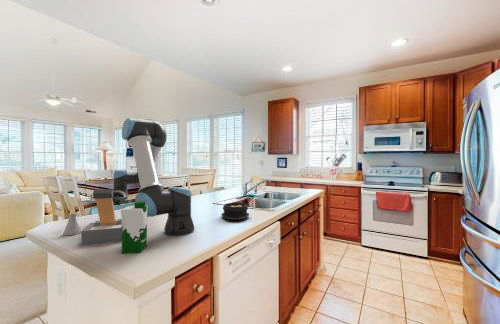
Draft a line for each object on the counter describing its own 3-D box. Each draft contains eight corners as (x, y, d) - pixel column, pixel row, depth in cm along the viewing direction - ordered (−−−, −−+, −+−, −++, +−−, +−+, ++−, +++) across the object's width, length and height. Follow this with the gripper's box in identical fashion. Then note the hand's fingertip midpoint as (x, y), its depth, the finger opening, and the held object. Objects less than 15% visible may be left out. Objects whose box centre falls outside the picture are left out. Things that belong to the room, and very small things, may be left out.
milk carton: (141, 254, 90) (141, 204, 90) (117, 254, 90) (118, 204, 90) (149, 245, 99) (149, 200, 99) (127, 246, 98) (128, 200, 98)
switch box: (91, 234, 113) (91, 218, 113) (131, 231, 119) (131, 215, 119) (81, 244, 100) (81, 226, 100) (127, 239, 106) (127, 222, 106)
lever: (100, 222, 109) (94, 189, 99) (117, 220, 111) (112, 189, 101) (99, 226, 107) (92, 193, 97) (116, 224, 109) (111, 192, 99)
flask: (71, 236, 110) (71, 216, 110) (59, 235, 112) (59, 215, 112) (84, 231, 117) (84, 212, 117) (73, 231, 119) (73, 212, 119)
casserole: (250, 222, 138) (250, 208, 138) (220, 222, 137) (220, 208, 137) (248, 212, 163) (248, 201, 163) (222, 212, 162) (222, 201, 162)
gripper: (129, 203, 135) (123, 212, 113) (104, 204, 130) (92, 214, 108) (129, 190, 135) (123, 197, 113) (104, 191, 130) (92, 198, 108)
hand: (108, 205), depth 110 cm, fingers closed
